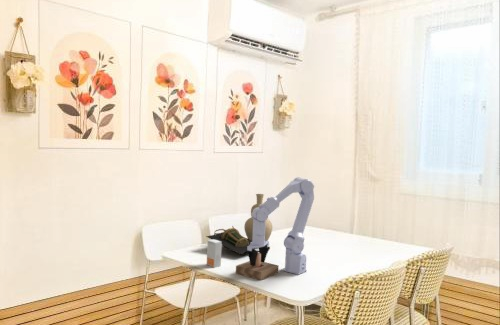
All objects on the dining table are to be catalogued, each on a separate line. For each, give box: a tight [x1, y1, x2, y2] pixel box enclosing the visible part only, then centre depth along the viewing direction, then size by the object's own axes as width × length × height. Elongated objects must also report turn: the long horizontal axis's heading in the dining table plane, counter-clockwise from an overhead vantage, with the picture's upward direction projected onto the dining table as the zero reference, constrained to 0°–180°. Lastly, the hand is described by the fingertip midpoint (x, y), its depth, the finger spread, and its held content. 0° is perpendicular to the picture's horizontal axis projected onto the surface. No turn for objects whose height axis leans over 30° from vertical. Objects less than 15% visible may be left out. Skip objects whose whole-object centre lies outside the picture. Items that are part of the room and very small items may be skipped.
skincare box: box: [206, 239, 223, 268], centre depth 190 cm, size 6×4×12 cm
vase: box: [244, 193, 273, 241], centre depth 235 cm, size 17×17×30 cm
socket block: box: [235, 260, 279, 281], centre depth 181 cm, size 14×14×4 cm
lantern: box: [206, 225, 259, 255], centre depth 220 cm, size 14×23×30 cm
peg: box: [254, 252, 261, 268], centre depth 181 cm, size 3×3×9 cm
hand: (257, 263), depth 181 cm, fingers open, 7 cm apart
